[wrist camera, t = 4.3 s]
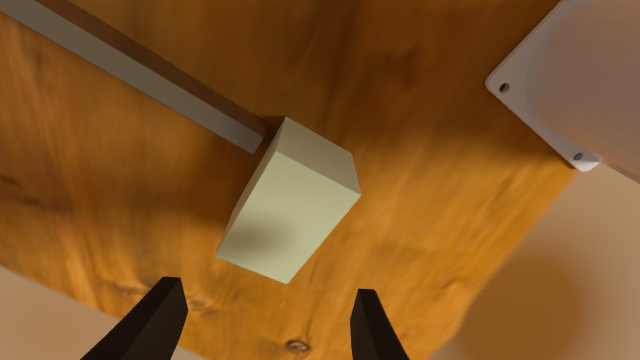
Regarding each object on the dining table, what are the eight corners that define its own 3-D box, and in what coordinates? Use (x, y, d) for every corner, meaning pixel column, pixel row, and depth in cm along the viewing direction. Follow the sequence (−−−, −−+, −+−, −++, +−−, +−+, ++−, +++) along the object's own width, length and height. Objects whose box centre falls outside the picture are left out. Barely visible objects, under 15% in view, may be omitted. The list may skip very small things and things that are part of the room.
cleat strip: (269, 124, 16) (263, 137, 15) (258, 140, 17) (252, 154, 15) (-88, -95, 11) (-151, -110, 10) (-86, -63, 12) (-147, -73, 10)
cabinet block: (351, 152, 17) (361, 195, 13) (292, 231, 21) (287, 284, 17) (286, 115, 16) (275, 150, 12) (234, 206, 19) (214, 256, 16)
